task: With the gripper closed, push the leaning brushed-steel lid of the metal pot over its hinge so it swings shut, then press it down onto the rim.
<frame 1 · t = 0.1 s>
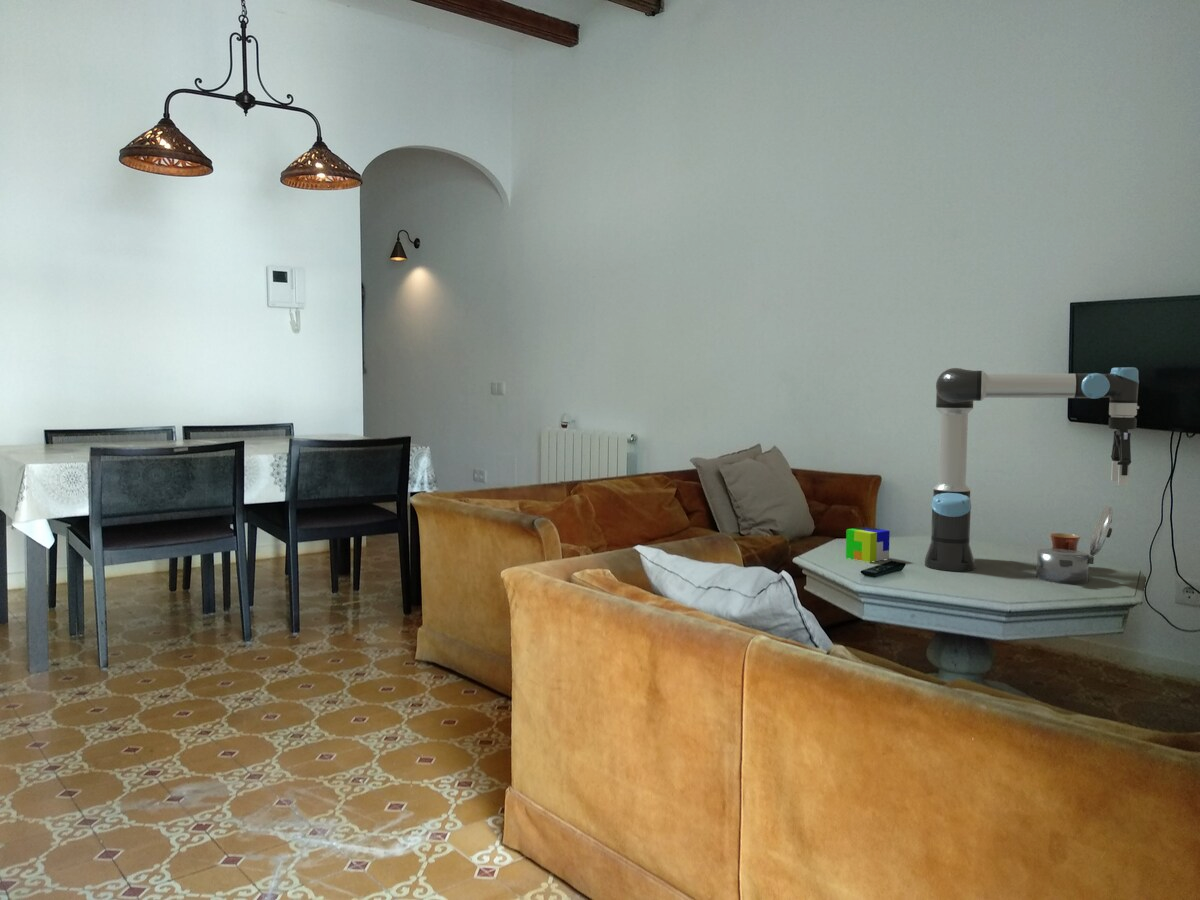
hand: (1119, 483, 274), 28 cm above the table, fingers open, 13 cm apart
lid: (1104, 532, 260), point 15 cm above the table, hinge at 105.0°
puzzle toy: (867, 559, 295), on the table
mug: (1065, 568, 282), on the table
pot: (1061, 578, 265), on the table
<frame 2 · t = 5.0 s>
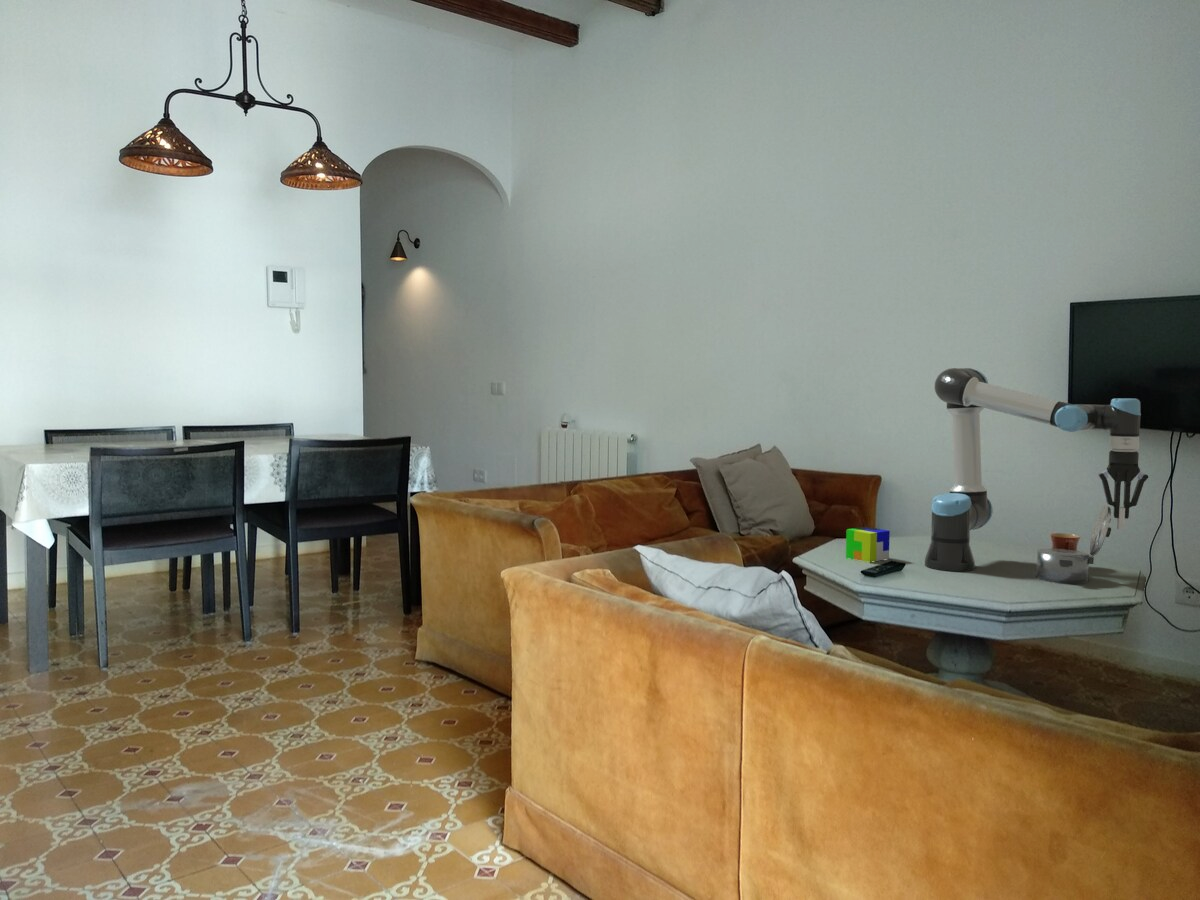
hand: (1120, 529, 259), 16 cm above the table, fingers closed
lid: (1103, 531, 260), point 15 cm above the table, hinge at 103.0°, touching gripper
everything else where it was.
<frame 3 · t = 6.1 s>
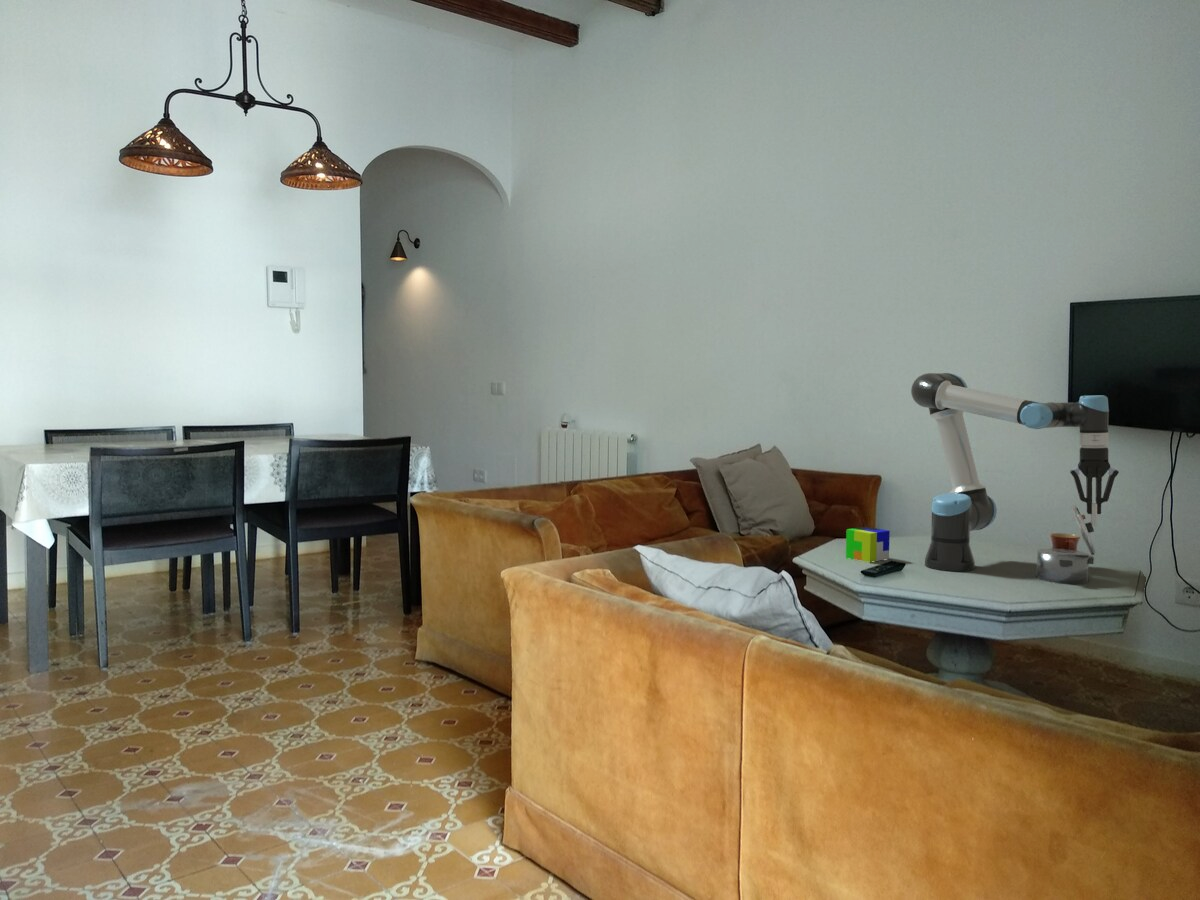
hand: (1093, 524, 261), 17 cm above the table, fingers closed
lid: (1087, 528, 262), point 16 cm above the table, hinge at 68.2°, touching gripper
everything else where it was.
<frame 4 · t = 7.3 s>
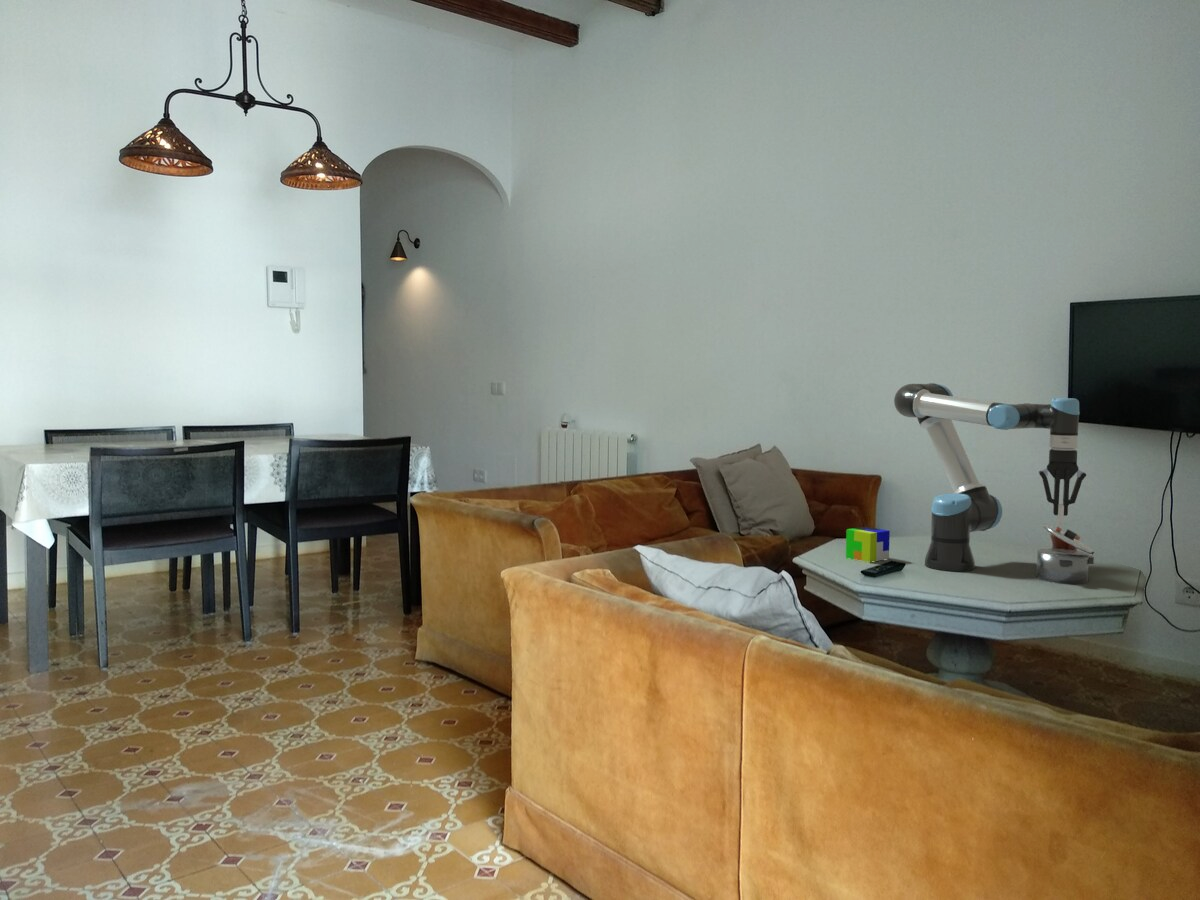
hand: (1059, 525, 265), 16 cm above the table, fingers closed
lid: (1070, 536, 264), point 13 cm above the table, hinge at 28.3°
everything else where it was.
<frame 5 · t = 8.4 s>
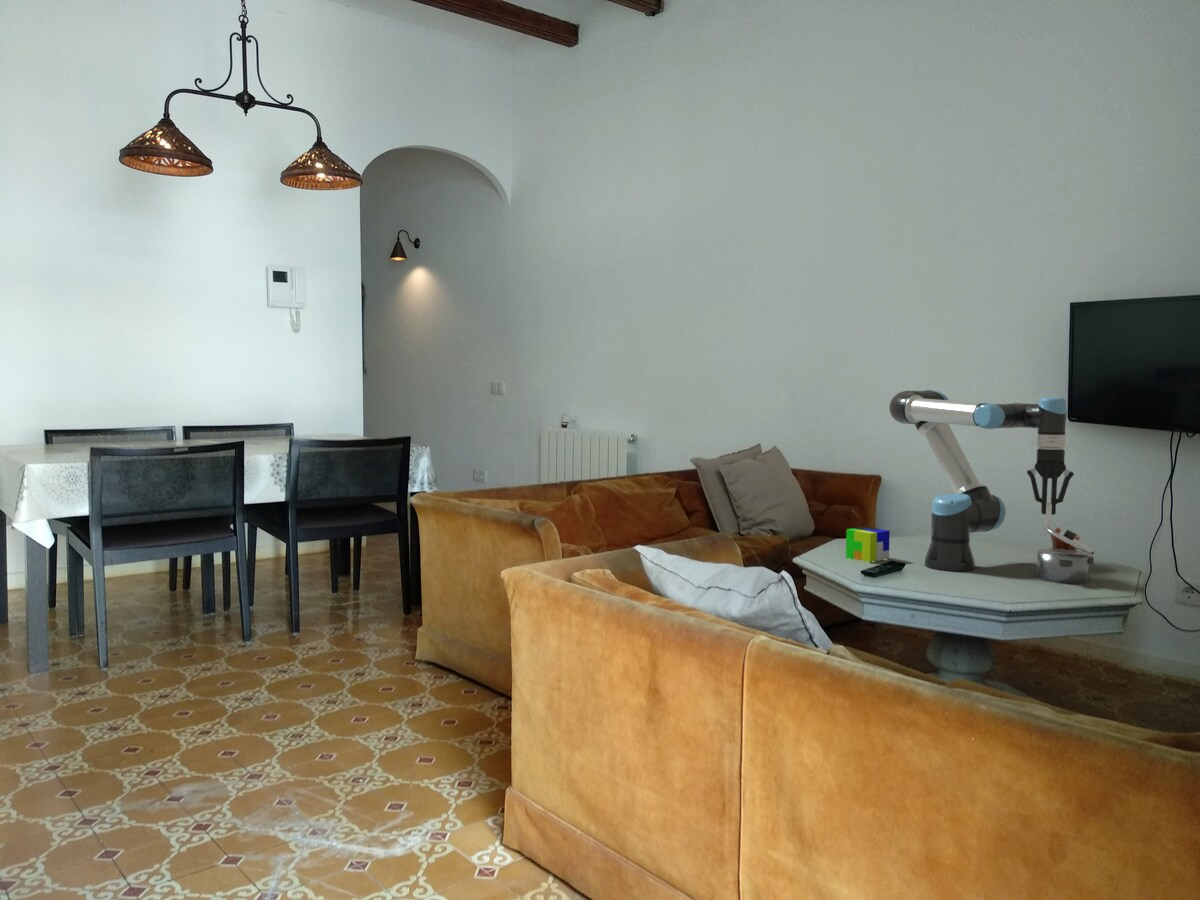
hand: (1047, 524, 266), 16 cm above the table, fingers closed
lid: (1069, 536, 264), point 13 cm above the table, hinge at 27.4°, touching gripper
everything else where it was.
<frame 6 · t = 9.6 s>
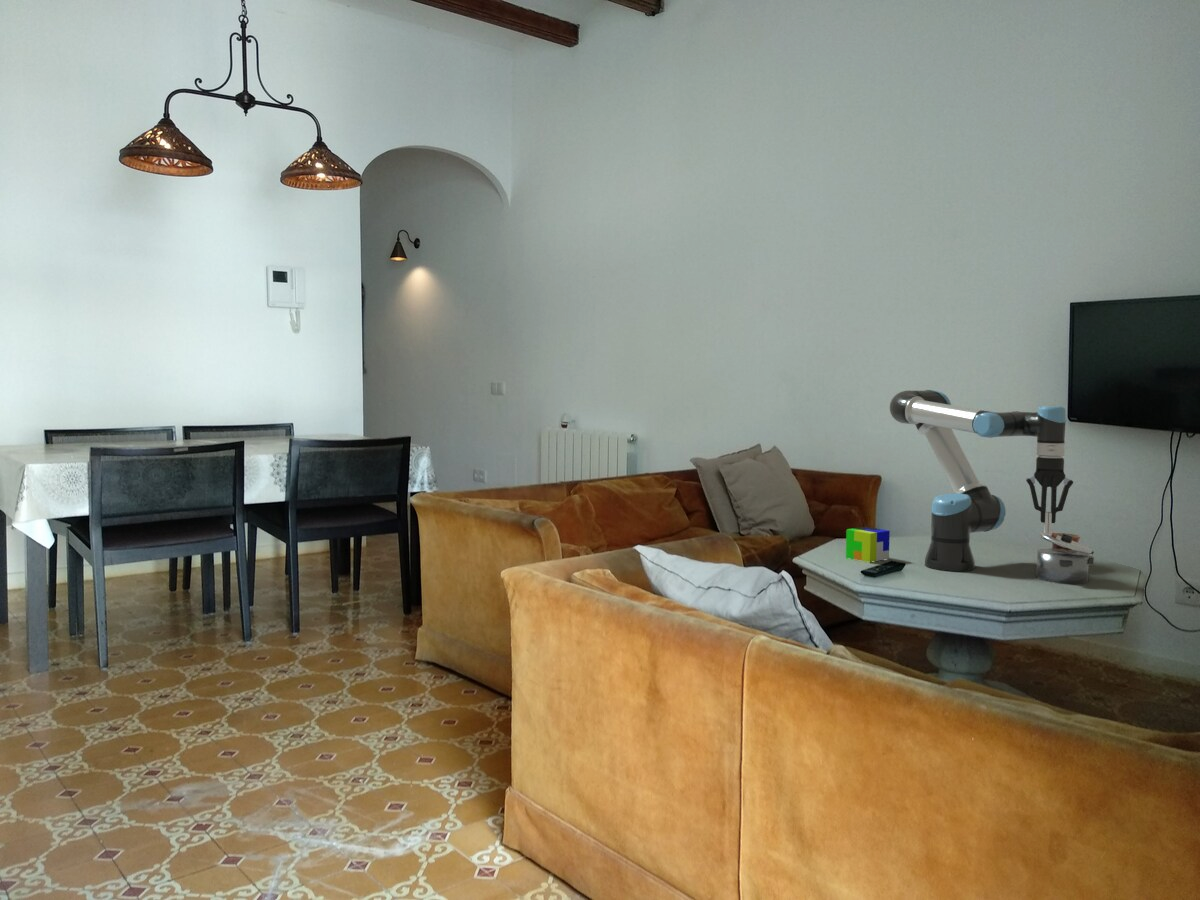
hand: (1047, 533, 266), 14 cm above the table, fingers closed
lid: (1067, 539, 264), point 12 cm above the table, hinge at 17.3°, touching gripper
everything else where it was.
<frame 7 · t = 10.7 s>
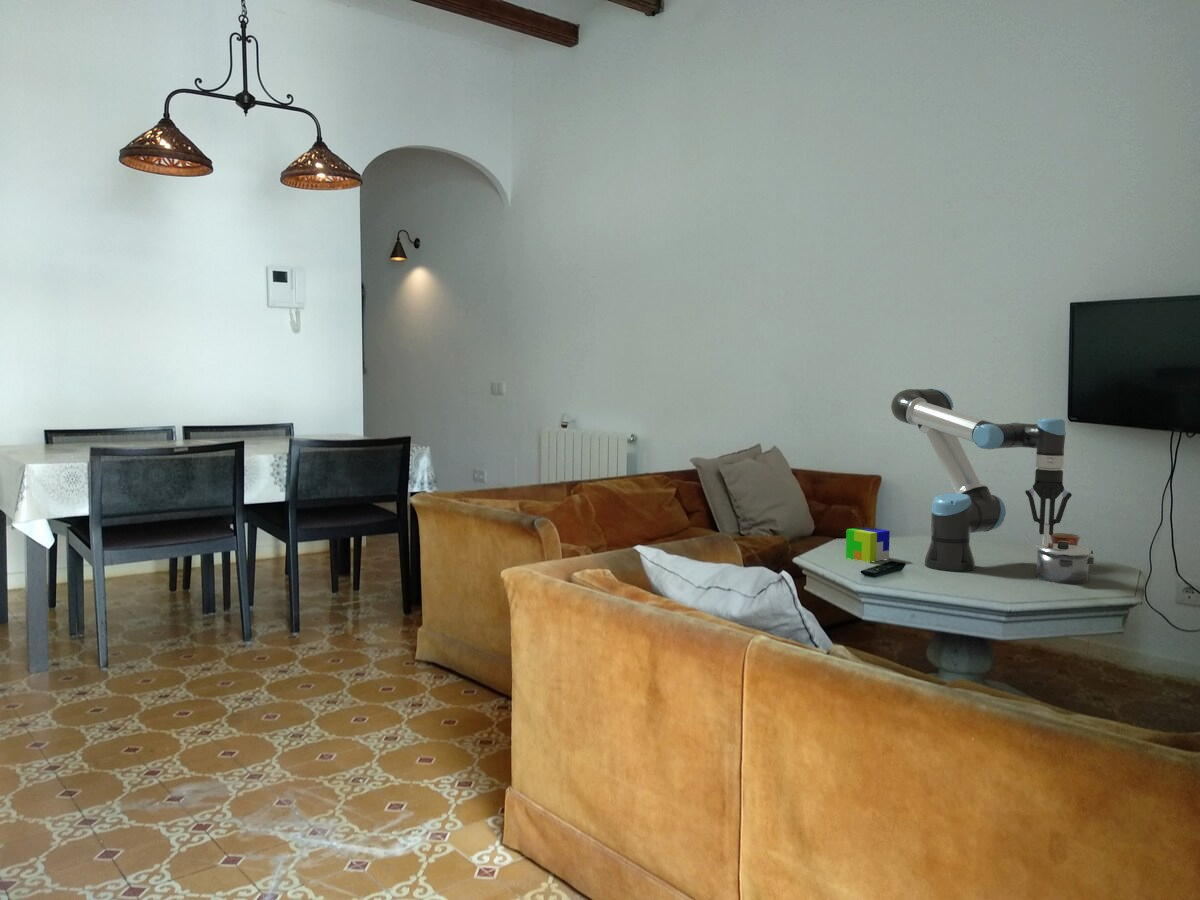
hand: (1045, 545, 266), 10 cm above the table, fingers closed
lid: (1063, 546, 265), point 10 cm above the table, hinge at 0.2°, touching gripper
everything else where it was.
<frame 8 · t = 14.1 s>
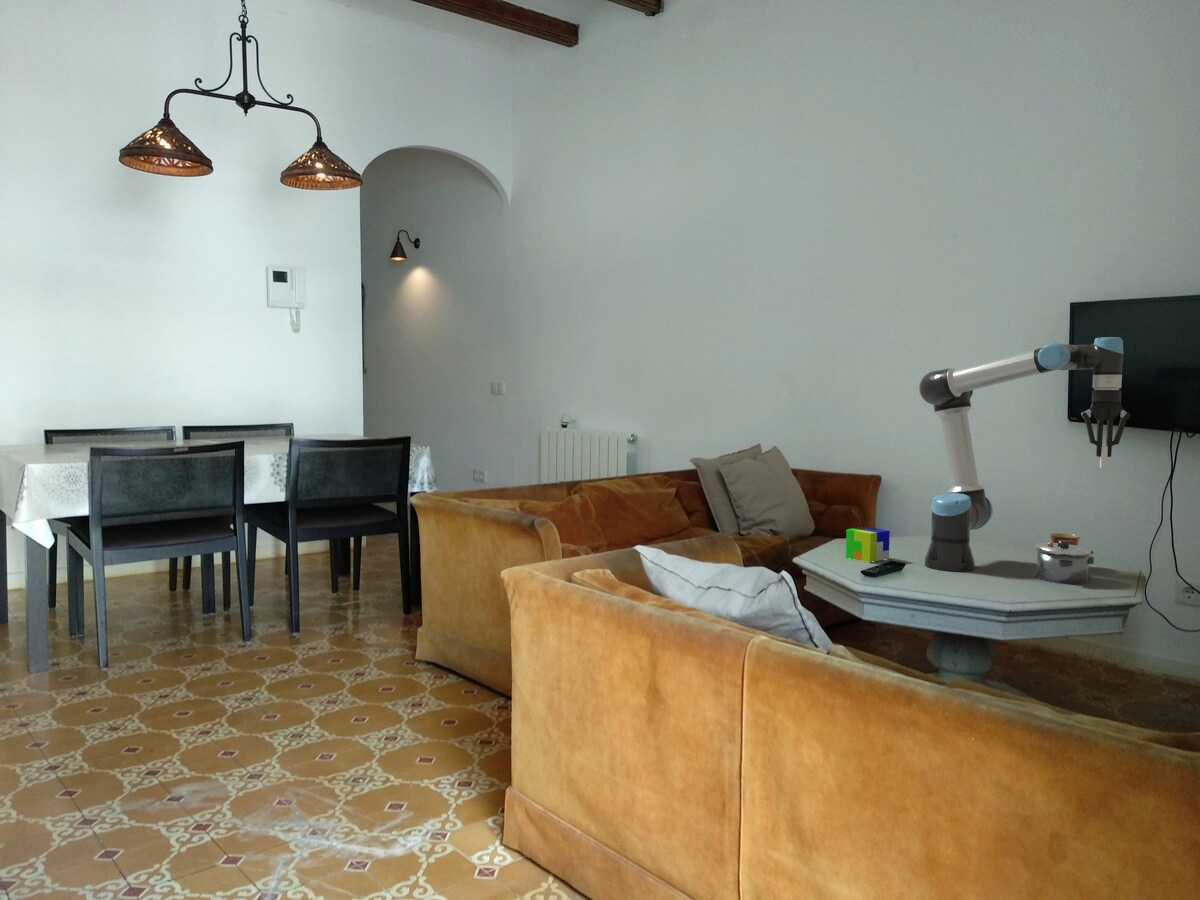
hand: (1103, 467, 261), 34 cm above the table, fingers closed
lid: (1064, 546, 264), point 10 cm above the table, hinge at 1.3°
everything else where it was.
at the end: lid at +1° (first picture: +105°) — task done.
